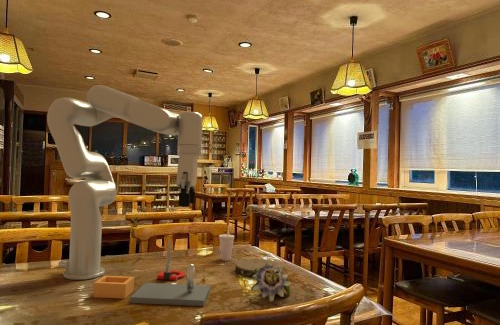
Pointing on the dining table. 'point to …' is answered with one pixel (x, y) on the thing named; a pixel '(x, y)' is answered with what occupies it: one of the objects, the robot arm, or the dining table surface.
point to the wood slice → (252, 266)
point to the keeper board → (171, 294)
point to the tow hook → (167, 273)
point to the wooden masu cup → (114, 287)
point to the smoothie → (226, 245)
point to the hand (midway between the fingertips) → (186, 204)
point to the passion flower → (270, 281)
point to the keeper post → (190, 277)
